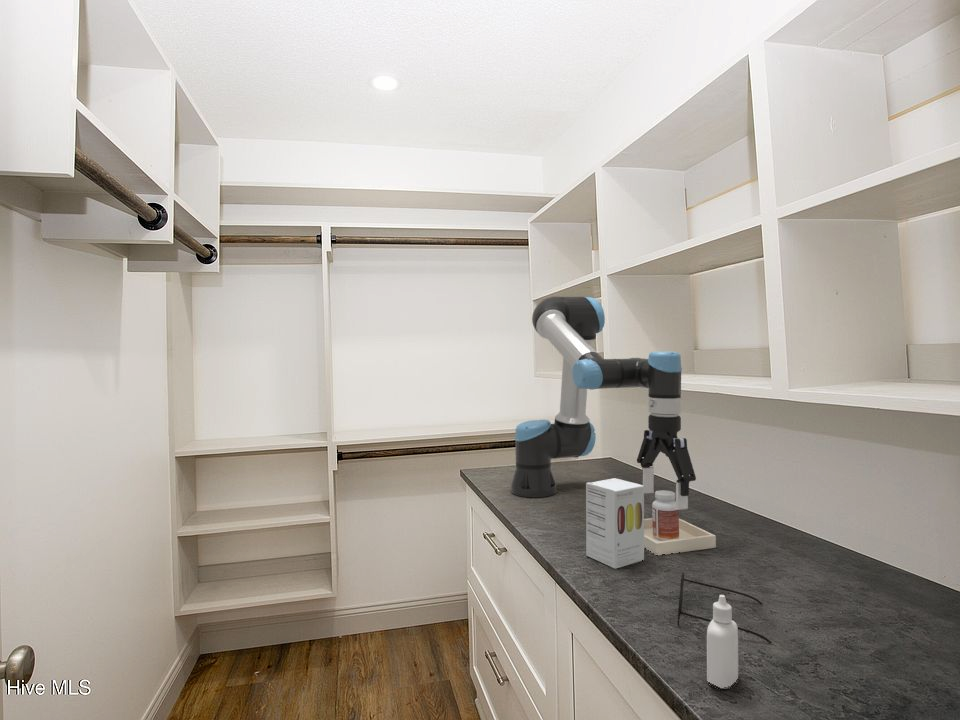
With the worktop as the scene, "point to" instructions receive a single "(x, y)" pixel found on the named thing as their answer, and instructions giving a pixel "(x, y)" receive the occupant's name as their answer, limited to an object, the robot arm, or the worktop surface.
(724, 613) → the eye dropper bottle
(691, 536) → the tray
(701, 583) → the glasses
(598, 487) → the supplement box
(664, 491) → the pill bottle
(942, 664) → the worktop surface
